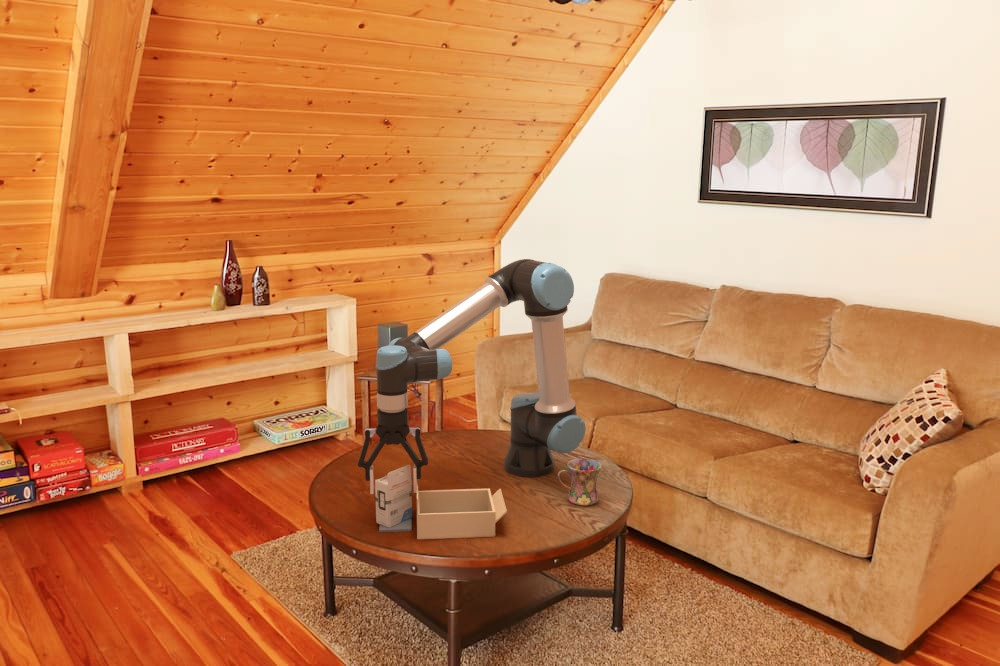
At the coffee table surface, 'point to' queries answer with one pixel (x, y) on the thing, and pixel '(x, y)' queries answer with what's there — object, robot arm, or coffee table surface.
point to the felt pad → (397, 527)
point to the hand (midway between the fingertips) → (393, 491)
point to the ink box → (394, 497)
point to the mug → (582, 481)
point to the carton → (458, 513)
